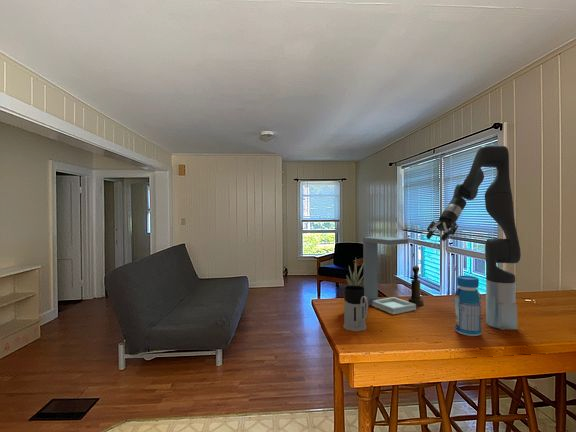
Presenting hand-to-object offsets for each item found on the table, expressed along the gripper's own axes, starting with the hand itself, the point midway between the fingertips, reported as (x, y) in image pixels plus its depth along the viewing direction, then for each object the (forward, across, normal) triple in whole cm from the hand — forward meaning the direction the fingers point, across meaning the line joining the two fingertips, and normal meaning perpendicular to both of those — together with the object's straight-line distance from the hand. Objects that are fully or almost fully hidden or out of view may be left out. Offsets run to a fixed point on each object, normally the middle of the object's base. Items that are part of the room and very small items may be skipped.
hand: (434, 239), depth 152 cm
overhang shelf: (+41, 0, 0) cm, 41 cm away
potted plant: (+54, 0, -14) cm, 56 cm away
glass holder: (+61, +15, -22) cm, 67 cm away
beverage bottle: (+38, +34, +3) cm, 51 cm away
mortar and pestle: (+31, +1, +11) cm, 33 cm away
